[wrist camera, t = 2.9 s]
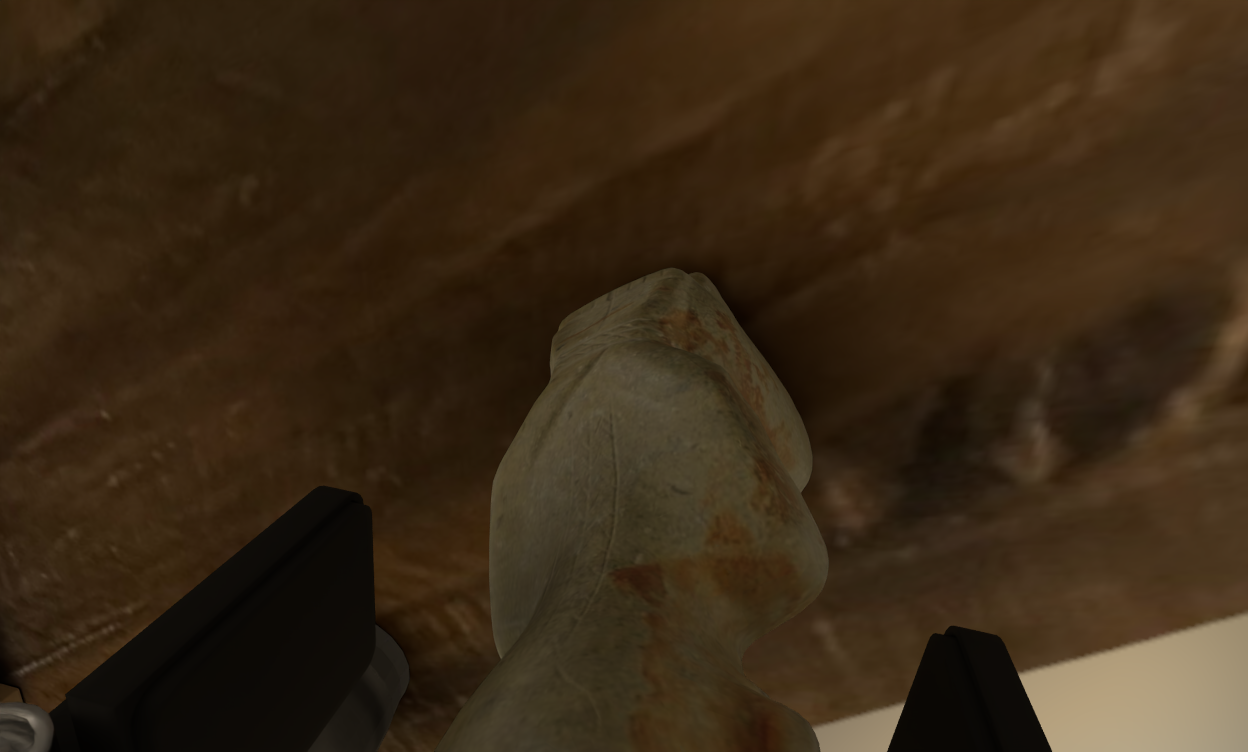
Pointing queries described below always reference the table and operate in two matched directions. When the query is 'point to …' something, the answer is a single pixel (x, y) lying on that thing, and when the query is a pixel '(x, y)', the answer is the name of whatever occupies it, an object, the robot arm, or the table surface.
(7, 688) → the shelf
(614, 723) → the sculpture
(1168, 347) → the table surface
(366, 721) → the beverage cup
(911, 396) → the table surface
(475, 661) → the table surface
